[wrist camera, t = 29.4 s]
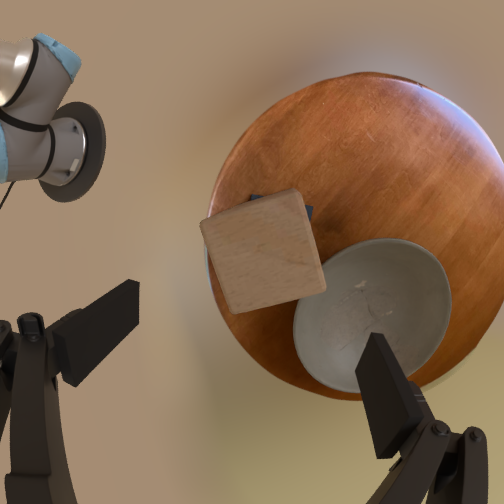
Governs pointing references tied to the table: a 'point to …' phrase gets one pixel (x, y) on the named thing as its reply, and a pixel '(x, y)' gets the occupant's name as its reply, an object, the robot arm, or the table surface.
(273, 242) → the wooden block
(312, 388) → the table surface
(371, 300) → the bowl
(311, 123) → the table surface
